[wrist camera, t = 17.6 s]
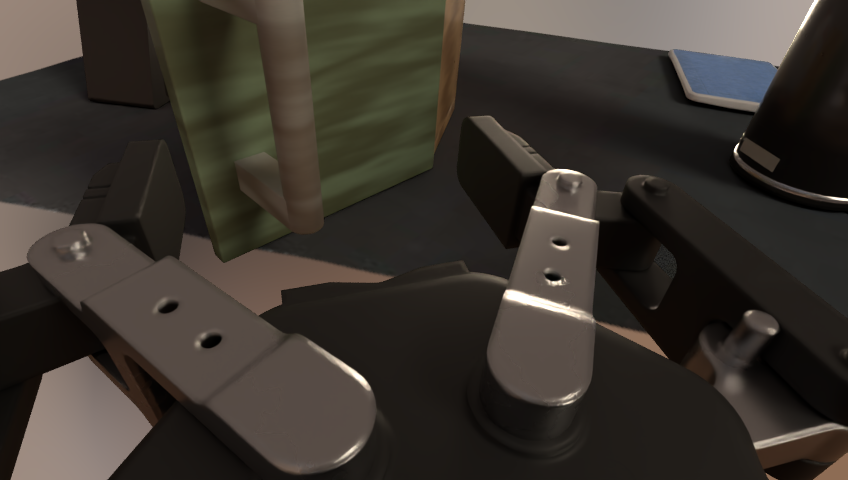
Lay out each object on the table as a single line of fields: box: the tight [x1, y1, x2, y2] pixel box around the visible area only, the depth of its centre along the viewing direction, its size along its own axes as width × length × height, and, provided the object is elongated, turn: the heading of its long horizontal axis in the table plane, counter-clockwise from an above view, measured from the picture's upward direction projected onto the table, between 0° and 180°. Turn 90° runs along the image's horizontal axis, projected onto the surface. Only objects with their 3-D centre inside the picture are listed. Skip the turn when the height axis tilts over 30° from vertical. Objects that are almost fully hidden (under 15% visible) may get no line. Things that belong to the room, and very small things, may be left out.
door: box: [141, 0, 446, 263], centre depth 22 cm, size 6×16×18 cm, turn 136°
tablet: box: [668, 49, 777, 112], centre depth 53 cm, size 19×13×1 cm, turn 162°
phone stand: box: [76, 0, 170, 109], centre depth 39 cm, size 9×6×12 cm, turn 172°
